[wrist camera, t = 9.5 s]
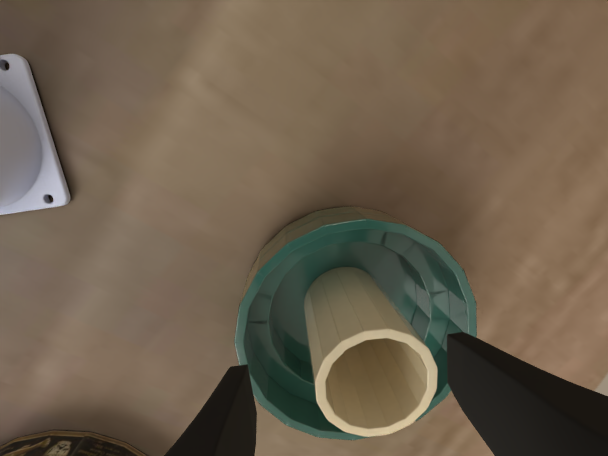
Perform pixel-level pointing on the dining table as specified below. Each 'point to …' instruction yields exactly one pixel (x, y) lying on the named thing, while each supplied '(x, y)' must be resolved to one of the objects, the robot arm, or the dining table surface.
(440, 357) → the bowl
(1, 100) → the robot arm
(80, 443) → the round wood slice
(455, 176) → the dining table surface
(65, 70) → the dining table surface
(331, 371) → the cup
